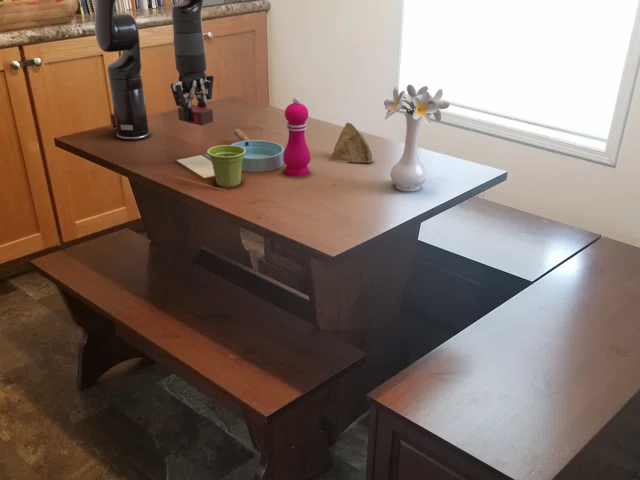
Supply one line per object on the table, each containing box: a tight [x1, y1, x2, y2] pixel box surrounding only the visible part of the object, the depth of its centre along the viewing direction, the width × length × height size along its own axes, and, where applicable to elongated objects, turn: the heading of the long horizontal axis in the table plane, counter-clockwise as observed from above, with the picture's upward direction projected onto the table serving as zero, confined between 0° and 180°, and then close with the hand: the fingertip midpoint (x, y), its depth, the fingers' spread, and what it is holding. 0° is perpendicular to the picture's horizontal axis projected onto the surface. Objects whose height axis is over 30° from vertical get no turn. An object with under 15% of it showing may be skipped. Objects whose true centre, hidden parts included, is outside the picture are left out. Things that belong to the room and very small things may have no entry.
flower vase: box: [383, 84, 450, 193], centre depth 171 cm, size 13×18×25 cm
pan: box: [230, 139, 285, 173], centre depth 188 cm, size 15×16×4 cm
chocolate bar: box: [177, 104, 214, 126], centre depth 180 cm, size 8×4×3 cm, turn 58°
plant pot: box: [206, 144, 245, 188], centre depth 174 cm, size 9×9×9 cm
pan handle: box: [233, 128, 251, 146], centre depth 197 cm, size 12×2×2 cm, turn 22°
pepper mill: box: [283, 96, 311, 178], centre depth 178 cm, size 7×7×20 cm
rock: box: [331, 122, 373, 164], centre depth 191 cm, size 11×9×10 cm
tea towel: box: [176, 153, 215, 179], centre depth 185 cm, size 16×9×1 cm, turn 37°
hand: (195, 119), depth 180 cm, fingers closed on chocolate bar, 4 cm apart
